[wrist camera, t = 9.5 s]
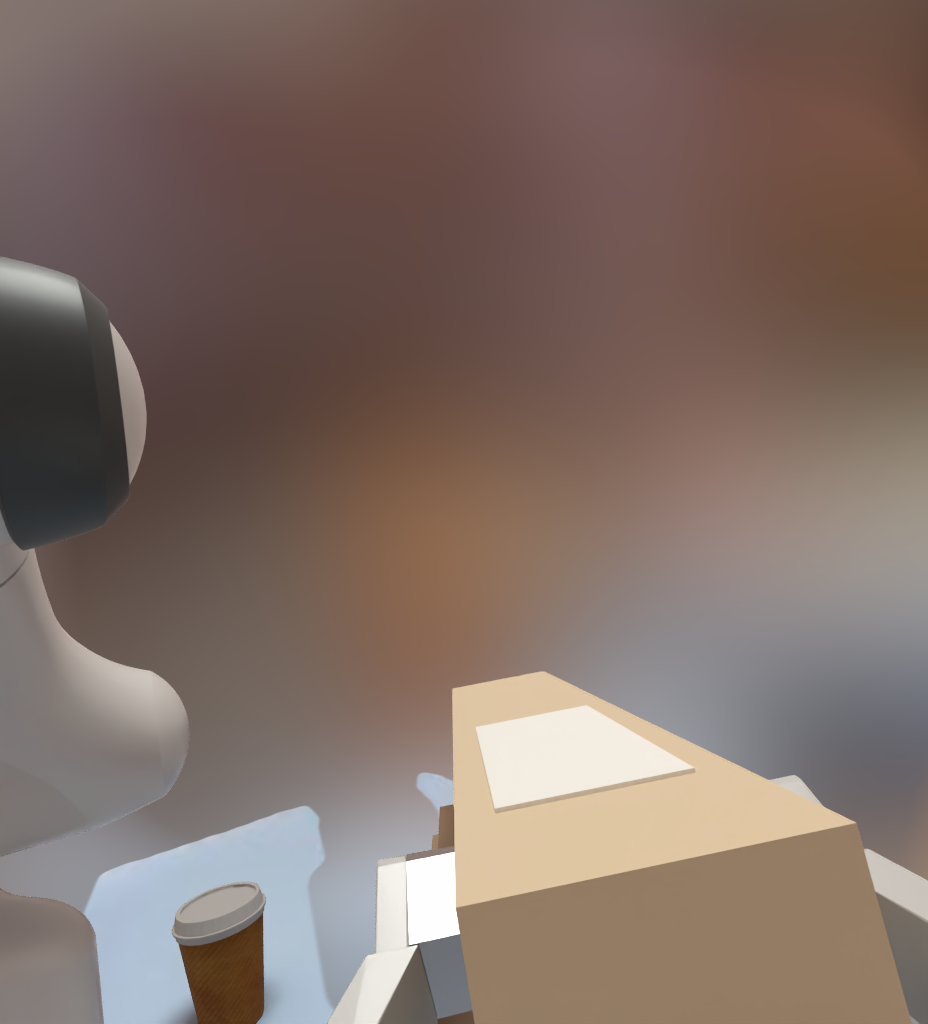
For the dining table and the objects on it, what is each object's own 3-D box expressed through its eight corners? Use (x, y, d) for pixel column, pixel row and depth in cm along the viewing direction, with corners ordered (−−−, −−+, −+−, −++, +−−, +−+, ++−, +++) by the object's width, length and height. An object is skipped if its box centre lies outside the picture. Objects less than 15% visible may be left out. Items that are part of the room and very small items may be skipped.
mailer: (519, 1296, 6) (453, 901, 7) (465, 764, 30) (452, 687, 30) (957, 1188, 6) (854, 815, 7) (558, 745, 30) (543, 669, 31)
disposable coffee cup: (296, 1007, 67) (280, 888, 68) (207, 1068, 60) (192, 934, 61) (253, 981, 73) (240, 873, 75) (169, 1033, 66) (156, 913, 68)
